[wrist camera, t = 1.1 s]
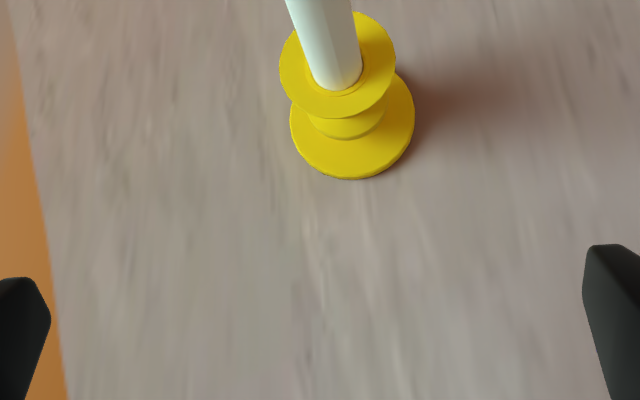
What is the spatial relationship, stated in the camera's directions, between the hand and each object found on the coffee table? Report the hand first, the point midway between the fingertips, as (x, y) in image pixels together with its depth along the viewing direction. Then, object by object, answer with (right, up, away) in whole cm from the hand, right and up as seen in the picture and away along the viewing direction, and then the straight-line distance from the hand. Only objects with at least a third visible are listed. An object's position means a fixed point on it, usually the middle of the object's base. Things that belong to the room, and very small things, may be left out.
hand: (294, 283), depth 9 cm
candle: (+2, +5, +15) cm, 16 cm away
